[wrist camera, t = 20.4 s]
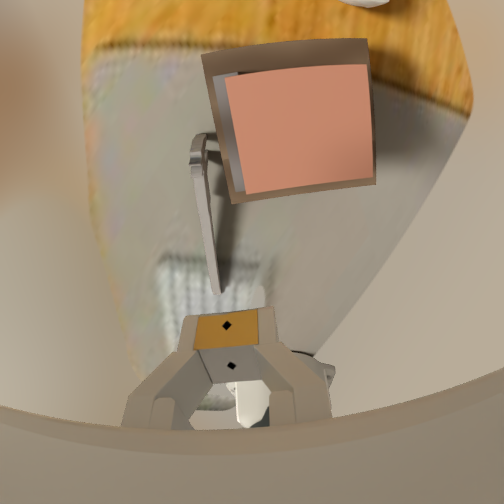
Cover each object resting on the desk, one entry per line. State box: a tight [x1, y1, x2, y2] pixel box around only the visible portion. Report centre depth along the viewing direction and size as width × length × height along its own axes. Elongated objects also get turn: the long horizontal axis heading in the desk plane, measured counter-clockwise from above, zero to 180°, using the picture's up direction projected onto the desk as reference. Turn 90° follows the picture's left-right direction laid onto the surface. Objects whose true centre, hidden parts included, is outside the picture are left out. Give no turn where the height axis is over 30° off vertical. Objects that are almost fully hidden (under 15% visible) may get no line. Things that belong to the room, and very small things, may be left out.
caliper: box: [189, 134, 221, 295], centre depth 33 cm, size 20×1×6 cm, turn 2°
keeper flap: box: [225, 64, 373, 194], centre depth 19 cm, size 9×8×1 cm
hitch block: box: [201, 38, 376, 204], centre depth 24 cm, size 12×12×10 cm
